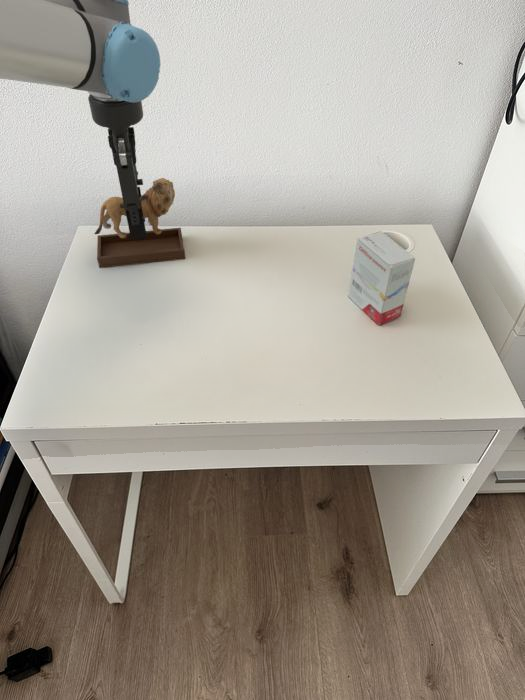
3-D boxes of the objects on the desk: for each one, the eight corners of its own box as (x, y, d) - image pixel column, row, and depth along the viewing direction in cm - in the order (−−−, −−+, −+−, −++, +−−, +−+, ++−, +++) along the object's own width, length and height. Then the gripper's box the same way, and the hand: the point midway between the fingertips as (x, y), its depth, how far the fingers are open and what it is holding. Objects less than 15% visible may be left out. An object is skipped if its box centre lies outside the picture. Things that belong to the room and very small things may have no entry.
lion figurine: (174, 213, 98) (169, 169, 91) (181, 231, 95) (177, 187, 88) (92, 228, 95) (81, 183, 88) (97, 246, 92) (86, 202, 85)
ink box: (401, 317, 87) (418, 257, 78) (377, 326, 85) (392, 267, 77) (369, 287, 92) (382, 228, 84) (346, 295, 90) (356, 237, 82)
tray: (99, 267, 95) (97, 258, 93) (99, 244, 99) (97, 235, 98) (185, 258, 97) (184, 249, 95) (181, 236, 102) (180, 227, 100)
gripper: (88, 72, 83) (116, 205, 100) (85, 119, 71) (117, 261, 88) (137, 69, 84) (156, 201, 101) (142, 115, 72) (162, 256, 89)
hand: (138, 229), depth 95 cm, fingers closed on lion figurine, 4 cm apart
